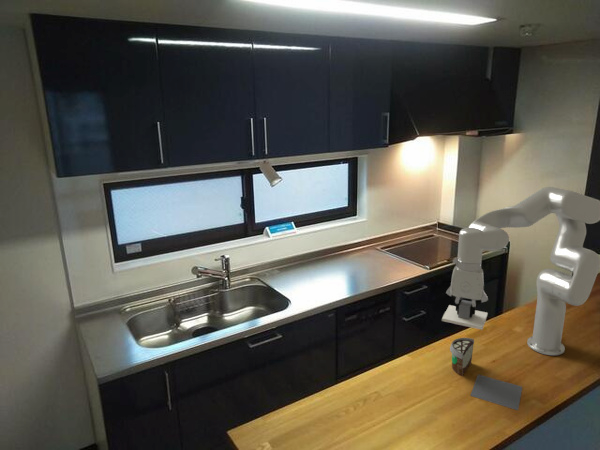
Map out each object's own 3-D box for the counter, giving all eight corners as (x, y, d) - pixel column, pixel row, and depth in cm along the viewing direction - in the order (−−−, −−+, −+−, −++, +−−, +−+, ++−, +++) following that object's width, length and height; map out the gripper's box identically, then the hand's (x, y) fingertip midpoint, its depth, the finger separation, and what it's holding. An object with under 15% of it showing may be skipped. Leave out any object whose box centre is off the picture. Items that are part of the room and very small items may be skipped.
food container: (455, 357, 160) (457, 333, 157) (472, 362, 156) (474, 338, 154) (443, 373, 151) (444, 348, 148) (460, 379, 147) (462, 354, 145)
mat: (477, 375, 149) (477, 374, 149) (522, 388, 142) (522, 386, 141) (470, 397, 138) (470, 395, 138) (517, 412, 131) (518, 410, 131)
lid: (449, 307, 155) (449, 293, 153) (487, 315, 148) (488, 301, 147) (441, 320, 146) (442, 306, 144) (482, 329, 139) (483, 314, 138)
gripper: (440, 264, 143) (438, 313, 148) (494, 272, 134) (489, 324, 139) (446, 257, 149) (443, 304, 154) (497, 265, 140) (492, 314, 146)
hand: (465, 313), depth 147 cm, fingers closed on lid, 3 cm apart
